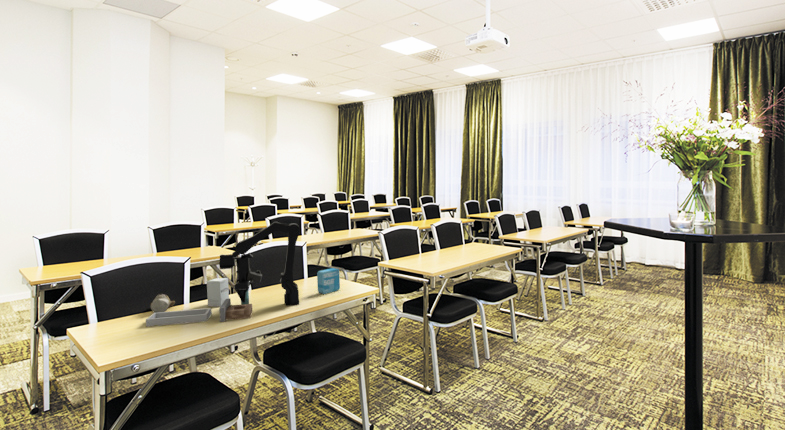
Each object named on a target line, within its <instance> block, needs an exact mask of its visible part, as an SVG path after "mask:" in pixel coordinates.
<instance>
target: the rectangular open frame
mask: <svg viewBox="0 0 785 430" xmlns="http://www.w3.org/2000/svg"><path fill="white" fill-rule="evenodd" d="M212 313H213V312H212V308H211V307H208V308H197V309H196V308H195V309H184V310H183V309H182V310H173V311H172V310H171V311H165V312H157V313H154V312H153V313H152V314H151V315H150V316H148V317H147V318H146V319H145V326H147V327H155V326H154V325H158V326H166V325H168V326H169V325H177V324H188V323H190V324H191V323H201V322H207V321H208V320H209V319H210V317H211V316H212Z"/></svg>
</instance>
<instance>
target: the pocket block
mask: <svg viewBox="0 0 785 430" xmlns="http://www.w3.org/2000/svg"><path fill="white" fill-rule="evenodd" d="M252 314H253V304H252V303H249V304H242V305H241V304H233V305H232V304H231V305H230V306H229V307H228V309H227V310H226V321H232V320H240V319H243V320H244V319H250V318H251V316H252Z"/></svg>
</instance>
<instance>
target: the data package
mask: <svg viewBox="0 0 785 430" xmlns="http://www.w3.org/2000/svg"><path fill="white" fill-rule="evenodd" d="M316 274H317V275H316V278H317V279H316V280H317V292H318V293H319V294H323V295H326V294H330V293H333V292H338V291H339V290H340V288H341V287H340V286H341V284H340V280H341V279H340V269H338V268H333V267H331V268H326V269H321V270H318V271H317V273H316ZM337 290H338V291H337Z"/></svg>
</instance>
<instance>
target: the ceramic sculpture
mask: <svg viewBox="0 0 785 430" xmlns="http://www.w3.org/2000/svg"><path fill="white" fill-rule="evenodd" d="M175 304H176V301H175V300H171V299H170V298H169V296H168V295H167V294H163V292H162V293H158V294H157V295H156V296H155V298H154V299H153V300H152V302H151V303H150V310H151V311H152V312H153V313H157V312H167V310H168V308H170V307H172V306H174V305H175Z"/></svg>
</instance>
